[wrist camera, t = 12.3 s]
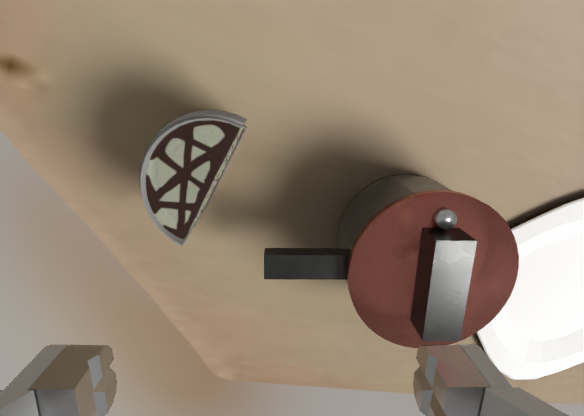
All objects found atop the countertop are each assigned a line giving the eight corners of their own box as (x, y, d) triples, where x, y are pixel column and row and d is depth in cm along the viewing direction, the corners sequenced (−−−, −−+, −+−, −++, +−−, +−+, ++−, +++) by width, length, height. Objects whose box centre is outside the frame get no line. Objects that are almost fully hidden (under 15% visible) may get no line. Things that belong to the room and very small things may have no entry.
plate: (439, 254, 44) (446, 260, 42) (620, 170, 42) (634, 172, 40) (497, 386, 50) (504, 396, 48) (658, 318, 47) (672, 326, 46)
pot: (267, 172, 40) (263, 193, 31) (468, 175, 41) (519, 196, 32) (267, 289, 44) (264, 336, 35) (450, 289, 45) (491, 335, 36)
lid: (352, 188, 31) (362, 202, 27) (525, 190, 32) (560, 204, 28) (342, 340, 36) (349, 371, 32) (495, 340, 36) (521, 370, 32)
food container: (198, 84, 37) (170, 80, 28) (253, 114, 38) (244, 120, 29) (150, 189, 40) (109, 218, 31) (202, 215, 41) (179, 251, 32)
